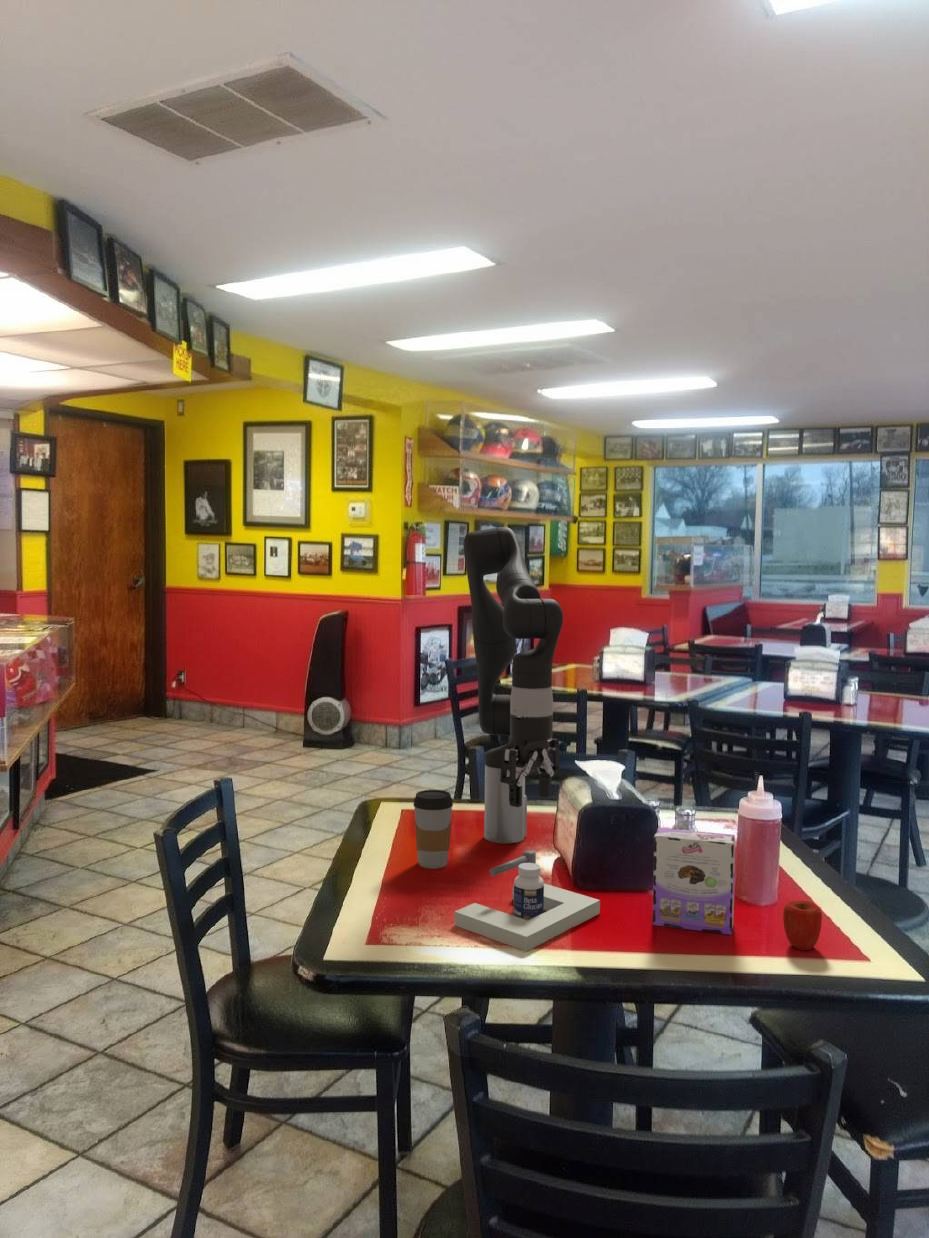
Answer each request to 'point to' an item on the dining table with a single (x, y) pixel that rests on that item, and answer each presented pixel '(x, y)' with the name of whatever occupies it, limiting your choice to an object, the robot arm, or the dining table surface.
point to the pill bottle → (528, 892)
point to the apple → (802, 924)
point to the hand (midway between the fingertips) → (530, 801)
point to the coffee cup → (433, 827)
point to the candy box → (694, 880)
